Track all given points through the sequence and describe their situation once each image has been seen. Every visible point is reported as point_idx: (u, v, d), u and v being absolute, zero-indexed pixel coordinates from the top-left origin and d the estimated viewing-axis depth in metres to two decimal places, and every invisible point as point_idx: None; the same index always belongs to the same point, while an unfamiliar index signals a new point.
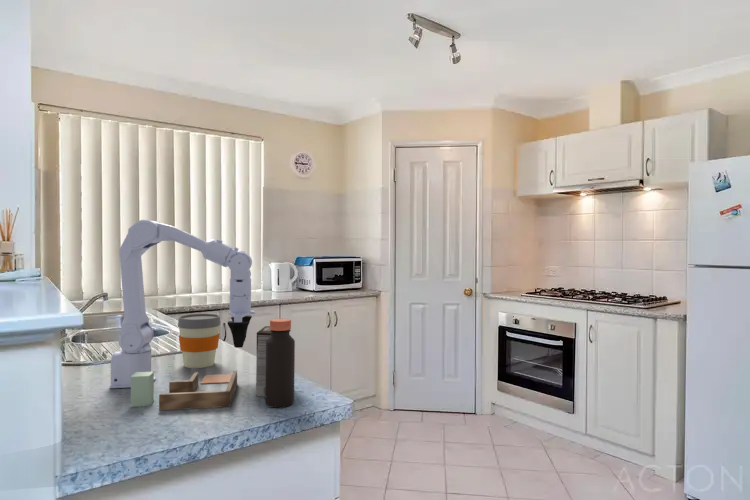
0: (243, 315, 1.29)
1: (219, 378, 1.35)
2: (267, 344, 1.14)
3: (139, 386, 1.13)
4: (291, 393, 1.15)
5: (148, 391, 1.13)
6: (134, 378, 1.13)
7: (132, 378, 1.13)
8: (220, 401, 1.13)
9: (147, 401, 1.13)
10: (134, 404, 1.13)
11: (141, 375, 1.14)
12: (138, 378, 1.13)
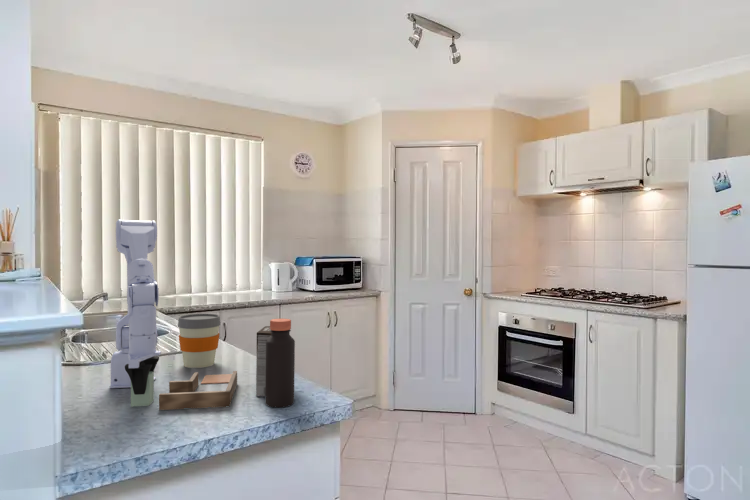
0: (141, 359, 1.10)
1: (219, 378, 1.35)
2: (267, 344, 1.14)
3: None
4: (291, 393, 1.15)
5: (148, 391, 1.13)
6: None
7: None
8: (220, 401, 1.13)
9: (147, 401, 1.13)
10: (134, 404, 1.13)
11: None
12: None
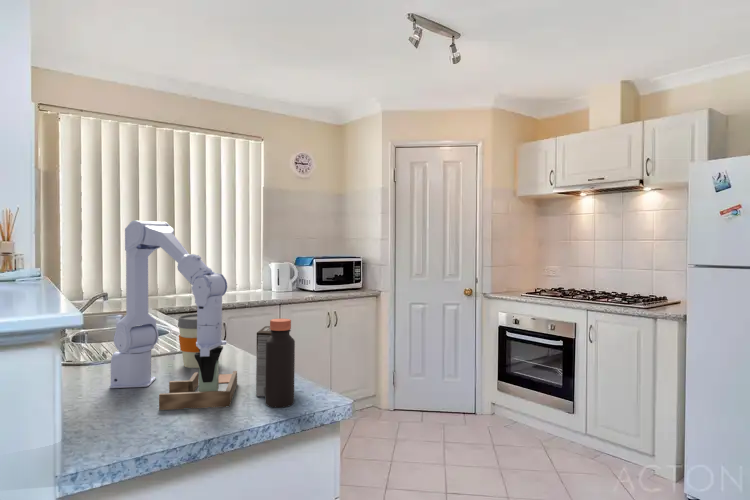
0: (211, 347, 1.13)
1: (219, 378, 1.35)
2: (267, 344, 1.14)
3: None
4: (291, 393, 1.15)
5: (215, 379, 1.17)
6: None
7: None
8: (220, 401, 1.13)
9: (214, 389, 1.17)
10: None
11: None
12: None
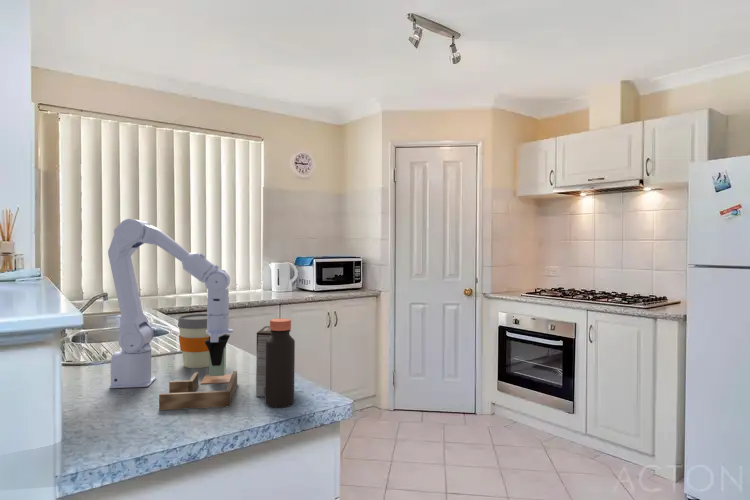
0: (220, 335, 1.29)
1: (219, 378, 1.35)
2: (267, 344, 1.14)
3: None
4: (291, 393, 1.15)
5: (223, 363, 1.32)
6: None
7: None
8: (220, 401, 1.13)
9: (222, 371, 1.32)
10: (212, 374, 1.32)
11: None
12: None
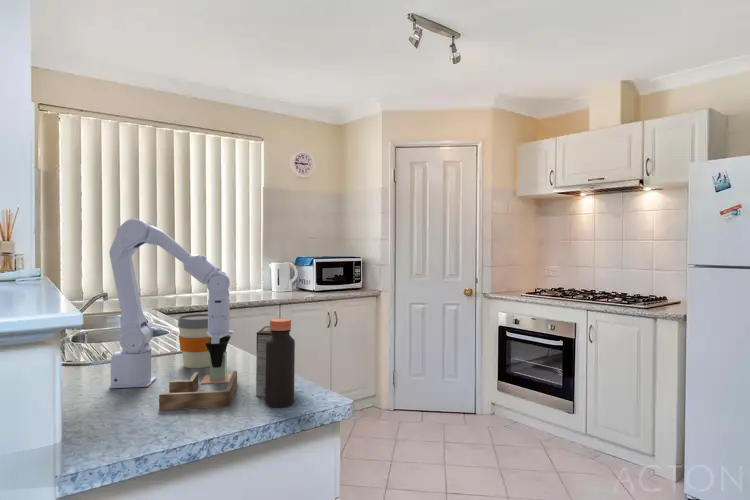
0: (220, 336, 1.30)
1: None
2: (267, 344, 1.14)
3: None
4: (291, 393, 1.15)
5: (224, 367, 1.34)
6: None
7: None
8: (220, 401, 1.13)
9: (223, 376, 1.34)
10: (212, 378, 1.33)
11: None
12: None
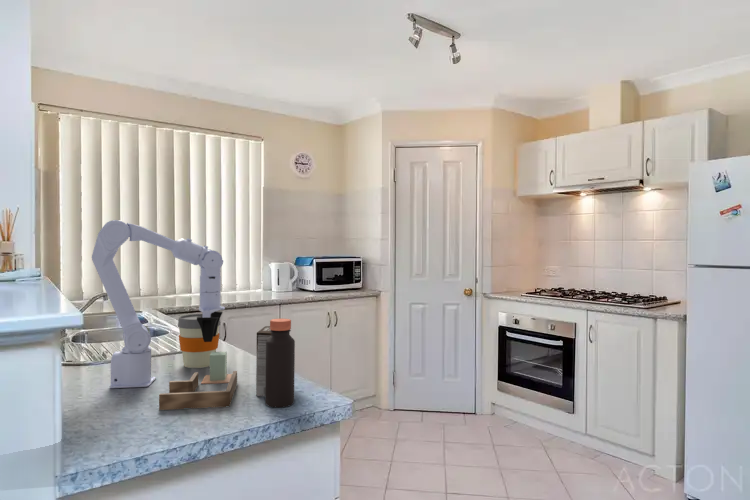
0: (212, 311, 1.34)
1: None
2: (267, 344, 1.14)
3: (216, 363, 1.33)
4: (291, 393, 1.15)
5: (224, 367, 1.34)
6: (212, 356, 1.33)
7: (211, 356, 1.33)
8: (220, 401, 1.13)
9: (223, 376, 1.34)
10: (212, 378, 1.33)
11: (218, 354, 1.34)
12: (216, 356, 1.33)
